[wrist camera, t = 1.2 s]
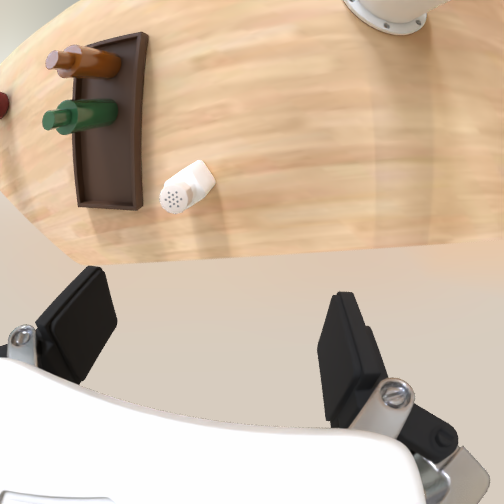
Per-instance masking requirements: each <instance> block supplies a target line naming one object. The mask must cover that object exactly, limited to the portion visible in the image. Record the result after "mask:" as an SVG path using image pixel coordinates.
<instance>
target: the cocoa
mask: <svg viewBox="0 0 504 504" xmlns="http://www.w3.org/2000/svg"><path fill="white" fill-rule="evenodd" d="M8 105H9V99H8V97H7V95H6V94H5V93H2V92H0V119H2V117H3V116H4V115H5V114H6V112H7V109H8Z"/></svg>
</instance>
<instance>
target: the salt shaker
mask: <svg viewBox="0 0 504 504" xmlns="http://www.w3.org/2000/svg"><path fill="white" fill-rule="evenodd" d="M215 184H216V181H215V179H214V177H213V176H212V174H211V173H210V171H209V169H208V168H207V166H206V165H205V163H204V162H203V161H201V160H198V161H196V162H194V163H193V164H191V165H189V166H188V167H186V168H185V169H183V170H182V171H180V172H179V173H177V174H176V175H174V176H173V177H172V178H170V179H169V180H167V181H166V182H165V184H164V188H163V189H162V191H161V192H160V199H159V200H160V203H161V205H162V207H163V208H164V209H165V210H166V211H167V212H169V213H173V214H178V213H181V212H183V211H184V210H185V209H187V208H189V207H191V206H192V205H194V204H195V203H197V202H199V201H200V200H202V199H203V198H204V197H205V196H206V195H207V194H208V192H209V191H210V190H211V189H212V188H213V186H214V185H215Z"/></svg>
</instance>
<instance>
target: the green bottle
mask: <svg viewBox="0 0 504 504" xmlns="http://www.w3.org/2000/svg"><path fill="white" fill-rule="evenodd" d="M117 115H118V106H117V104H116V102H115V101H114V100H113V99H110V98H96V99H74V100H65V101H63V102H62V103H61V104H60V105H59V106H58V107H57V109H56V110H50V111H47V112H46V113H45V114H44V116H43V120H42V124H43V127H44V129H46V130H52V129H56V130H57V131H58V132H59V133H60V134H62V135H67V134H72V133H76V132H81V131H85V130H90V129H95V128H101V127H106V126H109V125H111V124H112V123H113V122H114V121H115V120H116V118H117Z"/></svg>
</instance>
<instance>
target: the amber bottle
mask: <svg viewBox="0 0 504 504" xmlns="http://www.w3.org/2000/svg"><path fill="white" fill-rule="evenodd" d="M46 68H47V69H54V70H57V72H58V74H59V76H60V77H62V78H80V79H97V80H109V79H112V78H113V77H115V76H116V75H117V73H118V72H119V70H120V68H121V58H120V56H119V55H118V54H116V53H112V52H108V51H104V50H99V49H95V48H90V47H85V46H80V45H71V46H69V47H67V48H66V49H65V50H64V51H52V52H51V53H50V54H49V55H48V57H47V59H46Z"/></svg>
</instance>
